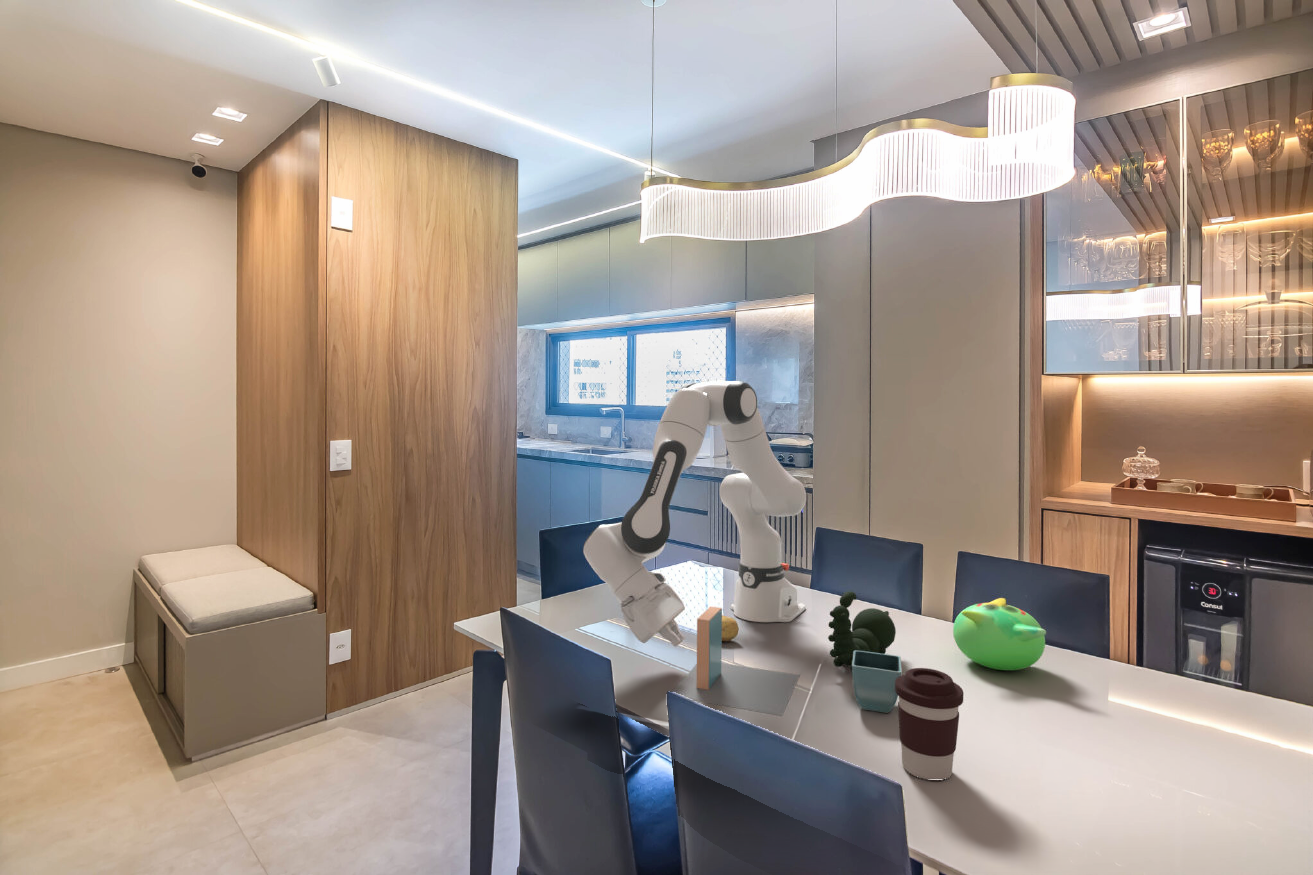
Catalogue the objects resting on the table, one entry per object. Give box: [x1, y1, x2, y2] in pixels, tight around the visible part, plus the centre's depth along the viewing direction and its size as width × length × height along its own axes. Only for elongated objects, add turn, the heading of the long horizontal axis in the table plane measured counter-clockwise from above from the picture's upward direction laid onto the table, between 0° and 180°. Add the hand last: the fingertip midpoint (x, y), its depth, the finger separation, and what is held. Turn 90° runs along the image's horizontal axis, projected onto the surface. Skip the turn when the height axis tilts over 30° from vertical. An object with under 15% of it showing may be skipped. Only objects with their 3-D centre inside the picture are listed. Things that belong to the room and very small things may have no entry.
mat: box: [673, 662, 800, 717], centre depth 132 cm, size 22×20×1 cm
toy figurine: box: [827, 590, 897, 672], centre depth 146 cm, size 9×19×25 cm
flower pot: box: [851, 650, 903, 714], centre depth 124 cm, size 9×9×9 cm
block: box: [696, 606, 723, 690], centre depth 134 cm, size 3×9×14 cm, turn 158°
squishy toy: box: [952, 597, 1047, 671], centre depth 144 cm, size 18×17×15 cm
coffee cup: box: [895, 667, 964, 780], centre depth 102 cm, size 10×10×15 cm
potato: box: [722, 614, 740, 642], centre depth 160 cm, size 7×11×6 cm, turn 45°
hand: (680, 642), depth 137 cm, fingers closed
